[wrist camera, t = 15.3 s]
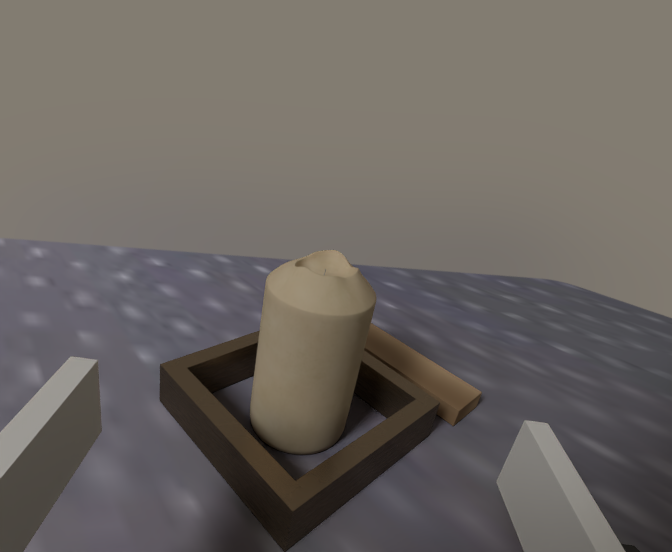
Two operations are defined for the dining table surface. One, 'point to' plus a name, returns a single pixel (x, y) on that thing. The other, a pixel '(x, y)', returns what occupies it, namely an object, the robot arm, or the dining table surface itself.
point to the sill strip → (424, 375)
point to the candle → (309, 351)
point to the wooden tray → (260, 467)
